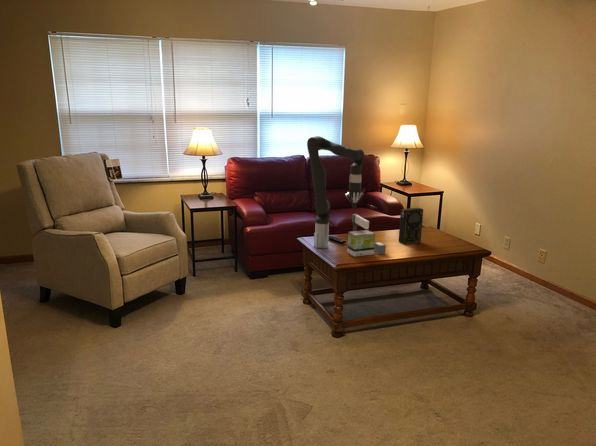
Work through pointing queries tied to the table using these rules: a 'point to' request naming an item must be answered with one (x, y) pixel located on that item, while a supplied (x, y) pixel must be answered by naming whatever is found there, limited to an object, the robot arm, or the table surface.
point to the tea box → (361, 243)
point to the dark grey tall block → (410, 225)
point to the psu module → (379, 248)
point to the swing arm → (360, 221)
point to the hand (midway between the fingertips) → (354, 208)
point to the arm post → (354, 226)
